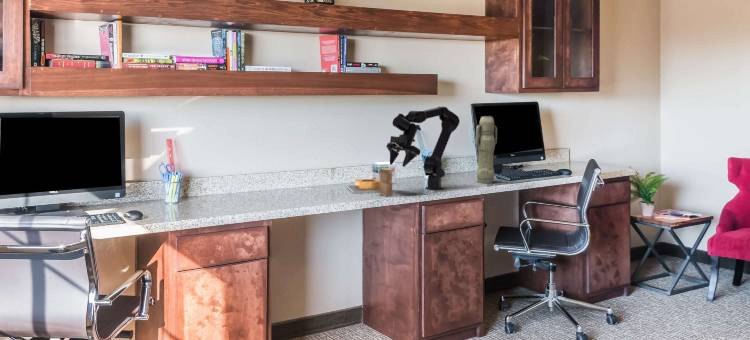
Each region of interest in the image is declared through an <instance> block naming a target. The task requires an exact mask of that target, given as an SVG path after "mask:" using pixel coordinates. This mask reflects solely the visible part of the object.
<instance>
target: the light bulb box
mask: <svg viewBox="0 0 750 340" xmlns="http://www.w3.org/2000/svg"><path fill="white" fill-rule="evenodd" d="M396 165H397V164H396V162H393V164H392V165H391V164H390V161H381V162H372V175H371V176H372V178H371V179H378V180H380V169H392V184H395V183H396Z"/></svg>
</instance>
